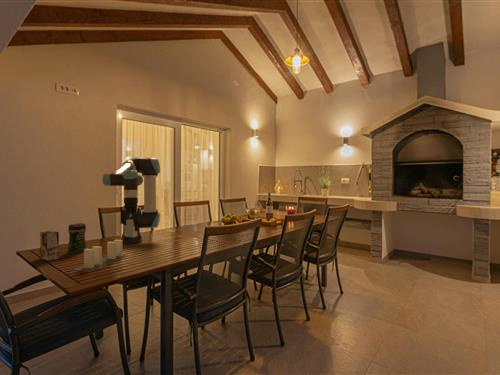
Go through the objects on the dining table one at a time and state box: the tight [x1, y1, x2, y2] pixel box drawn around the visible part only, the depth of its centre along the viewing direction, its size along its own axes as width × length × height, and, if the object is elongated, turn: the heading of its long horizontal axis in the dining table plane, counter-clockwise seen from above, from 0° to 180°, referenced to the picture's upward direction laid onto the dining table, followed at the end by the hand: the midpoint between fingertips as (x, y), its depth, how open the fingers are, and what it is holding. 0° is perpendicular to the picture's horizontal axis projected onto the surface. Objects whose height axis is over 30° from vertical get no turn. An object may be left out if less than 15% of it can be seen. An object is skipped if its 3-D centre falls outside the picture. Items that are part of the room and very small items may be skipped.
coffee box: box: [39, 230, 60, 262], centre depth 158 cm, size 9×6×16 cm
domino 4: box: [113, 239, 124, 257], centre depth 164 cm, size 2×5×10 cm, turn 76°
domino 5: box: [126, 219, 134, 237], centre depth 155 cm, size 2×5×10 cm, turn 76°
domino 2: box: [91, 245, 103, 265], centre depth 148 cm, size 2×5×10 cm, turn 76°
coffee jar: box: [67, 223, 87, 254], centre depth 173 cm, size 10×8×19 cm
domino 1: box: [83, 248, 94, 268], centre depth 143 cm, size 2×5×10 cm, turn 76°
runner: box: [71, 254, 130, 273], centre depth 152 cm, size 30×12×1 cm, turn 166°
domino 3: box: [106, 241, 116, 259], centre depth 159 cm, size 2×5×10 cm, turn 76°
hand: (130, 236), depth 155 cm, fingers closed on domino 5, 5 cm apart
